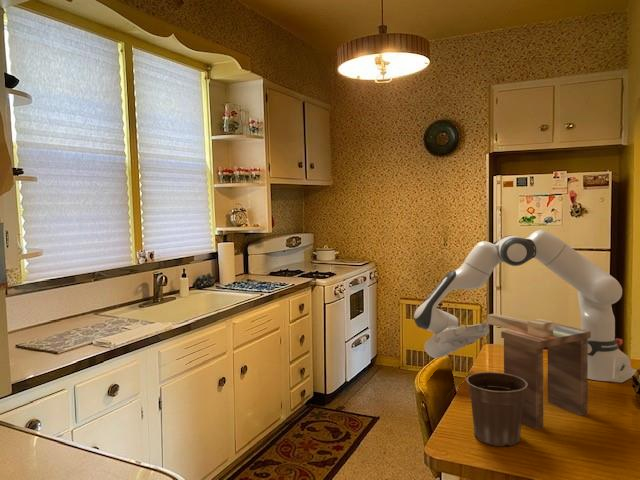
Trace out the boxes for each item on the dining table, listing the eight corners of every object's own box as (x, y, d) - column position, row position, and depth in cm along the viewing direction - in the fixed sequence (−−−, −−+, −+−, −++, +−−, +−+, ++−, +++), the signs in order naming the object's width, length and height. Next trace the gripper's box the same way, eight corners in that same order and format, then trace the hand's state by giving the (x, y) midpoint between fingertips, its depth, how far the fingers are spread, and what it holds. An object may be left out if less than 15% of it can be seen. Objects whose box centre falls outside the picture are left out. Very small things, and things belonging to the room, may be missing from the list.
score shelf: (551, 399, 162) (551, 322, 161) (590, 415, 150) (590, 331, 148) (501, 413, 153) (501, 331, 152) (538, 430, 140) (538, 341, 139)
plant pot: (474, 420, 149) (473, 368, 148) (531, 430, 141) (531, 376, 140) (460, 443, 135) (459, 385, 134) (523, 456, 127) (522, 395, 126)
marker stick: (495, 322, 163) (495, 310, 163) (553, 335, 145) (553, 321, 145) (485, 324, 161) (485, 312, 160) (542, 337, 143) (542, 324, 142)
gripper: (428, 333, 181) (450, 321, 170) (471, 326, 190) (494, 314, 179) (434, 350, 179) (456, 339, 167) (477, 342, 187) (501, 331, 176)
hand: (476, 326), depth 173 cm, fingers open, 8 cm apart
